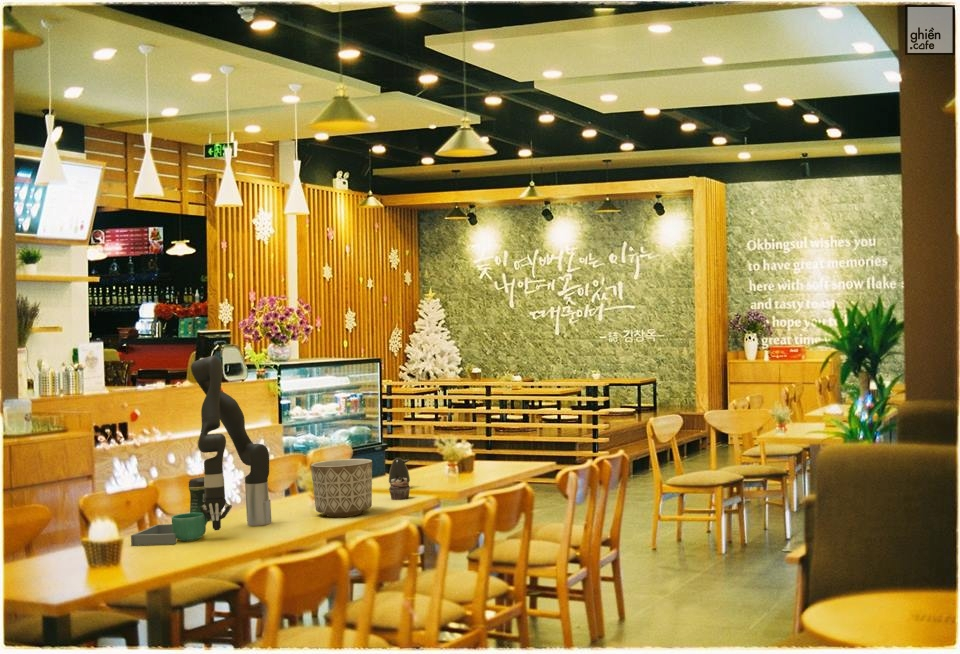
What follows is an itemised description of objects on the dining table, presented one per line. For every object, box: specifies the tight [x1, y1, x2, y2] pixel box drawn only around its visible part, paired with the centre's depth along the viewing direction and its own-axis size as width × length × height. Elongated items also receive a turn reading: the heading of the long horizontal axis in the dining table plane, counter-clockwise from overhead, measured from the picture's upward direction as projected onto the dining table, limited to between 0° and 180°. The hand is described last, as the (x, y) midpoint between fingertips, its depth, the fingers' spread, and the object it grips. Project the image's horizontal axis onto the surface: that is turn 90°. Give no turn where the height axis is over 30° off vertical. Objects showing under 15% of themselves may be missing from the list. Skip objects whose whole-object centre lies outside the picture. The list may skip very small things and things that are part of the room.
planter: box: [310, 458, 373, 518], centre depth 490 cm, size 26×26×22 cm
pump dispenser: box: [388, 457, 411, 487], centre depth 559 cm, size 10×10×15 cm
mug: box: [171, 512, 208, 542], centre depth 448 cm, size 17×13×10 cm
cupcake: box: [388, 477, 411, 501], centre depth 526 cm, size 10×10×10 cm
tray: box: [130, 523, 177, 547], centre depth 450 cm, size 18×23×4 cm
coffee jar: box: [188, 476, 211, 522], centre depth 493 cm, size 10×8×19 cm
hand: (216, 530), depth 446 cm, fingers closed
